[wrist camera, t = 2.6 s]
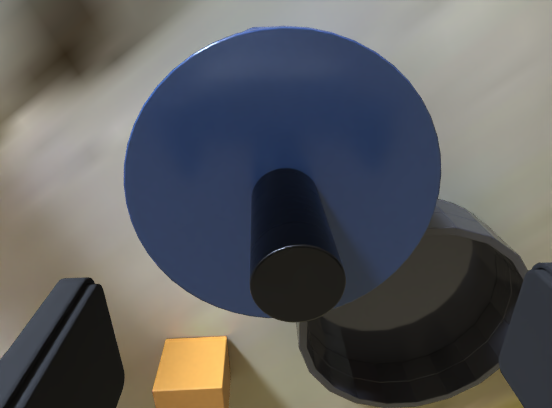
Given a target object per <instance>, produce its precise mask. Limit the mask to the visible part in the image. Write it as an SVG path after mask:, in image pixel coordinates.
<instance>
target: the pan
mask: <svg viewBox="0 0 552 408" xmlns="http://www.w3.org/2000/svg"><path fill="white" fill-rule="evenodd" d="M527 272H528V270H527V268H526V266H525V264H524V263H523V261H522V259H521V257H520V256H519V255H518V254H517V253H516V252H515V251H514V250H513V249H512V248H511V247H510V246H509V245H508V244H507V243H506V242H505V241H503V240H502V239H501V238H500V237H499V236H498V235H497V234H496V233H495V232H494V231H493V230H492V229H491V228H490V227H489V226H488V225H486V224H485V223H484V222H482V221H481V220H479V219H478V218H477V217H476V216H475V215H474V214H472V213H471V212H469V211H468V210H466V209H465V208H462V207H460V206H458V205H456V204H454V203H451V202H447V201H444V200H441V199H437V203H436V207H435V210H434V213H433V216H432V218H431V221H430V223H429V226H428V228H427V230H426V232H425V233H424V235H423V237H422V239H421V241H420V242H419V244H418V245H417V247H416V248H415V250H414V251H413V252H412V254H411V255H410V256H409V258H408V259H407V260H406V261H405V262H404V263H403V264H402V265H401V267H400V268H399V269H398V270H397V271H396V272H395V273H394V274H392V275H391V276H390V277H389V278H388V279H387V280H385V281H384V282H383V283H382V284H380V285H379V286H377V287H376V288H375V289H373V290H372V291H370V292H369V293H367V294H365V295H363V296H362V297H360V298H358V299H356V300H354V301H352V302H350V303H348V304H345V305H343V306H340V307H338V308H335V309H332V310H330V311H329V312H327V313H326V314H324V315H323V316H321V317H318V318H316V319H313V320H310V321H305V322H296V327H297V336H298V344H299V349H300V352H301V354H302V356H303V358H304V361H305V363H306V365H307V368H308V370H309V372H310V373H311V374H312V375H313V376H314V377H315V378H316V379H317V380H318V381H319V382H320V383H321V384H322V385H323V386H324V387H325V388H326V389H328V390H329V391H330V392H332V393H334V394H337V395H339V396H341V397H343V398H345V399H347V400H349V401H352V402H354V403H358V404H364V405H370V406H375V407H381V408H399V407H417V406H421V405H425V404H429V403H433V402H437V401H441V400H445V399H448V398H451V397H453V396H455V395H457V394H459V393H461V392H464V391H466V390H468V389H470V388H472V387H474V386H476V385H478V384H480V383H482V382H483V381H484V380H485V379H487V378H488V377H489V376H490V375H492V374H493V373H494V372H496V371H497V370H498V369H499V368H500V367H499V355H500V352H501V349H502V346H503V343H504V339H505V336H506V333H507V330H508V327H509V324H510V321H511V318H512V314H513V311H514V308H515V305H516V302H517V299H518V296H519V293H520V289H521V286H522V283H523V280H524V277H525V274H526V273H527Z"/></svg>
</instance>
